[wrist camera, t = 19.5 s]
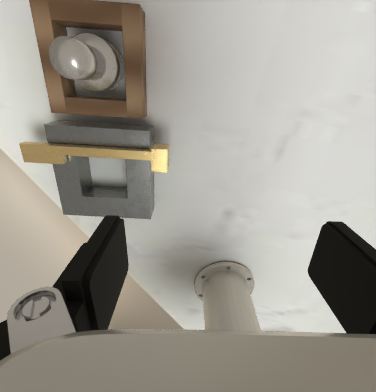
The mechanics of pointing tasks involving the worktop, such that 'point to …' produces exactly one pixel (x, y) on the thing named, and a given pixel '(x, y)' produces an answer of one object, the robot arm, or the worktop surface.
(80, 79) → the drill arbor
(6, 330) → the robot arm
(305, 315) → the worktop surface
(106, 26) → the frame
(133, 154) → the brass key
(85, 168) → the spindle block
